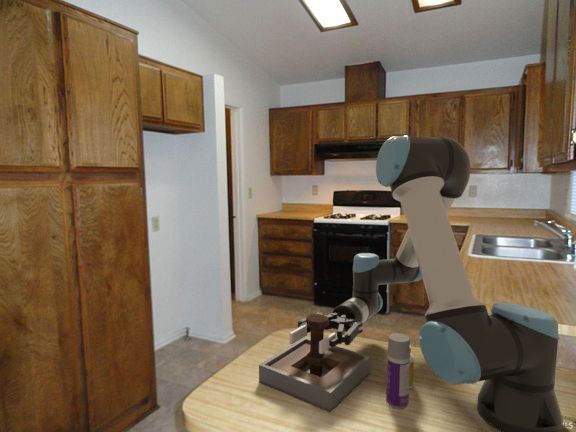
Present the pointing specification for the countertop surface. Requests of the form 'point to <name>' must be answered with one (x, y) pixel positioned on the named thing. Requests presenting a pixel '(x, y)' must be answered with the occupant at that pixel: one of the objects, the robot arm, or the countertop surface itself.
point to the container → (398, 370)
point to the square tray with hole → (334, 362)
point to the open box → (312, 391)
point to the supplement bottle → (411, 369)
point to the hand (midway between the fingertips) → (305, 343)
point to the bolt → (316, 342)
